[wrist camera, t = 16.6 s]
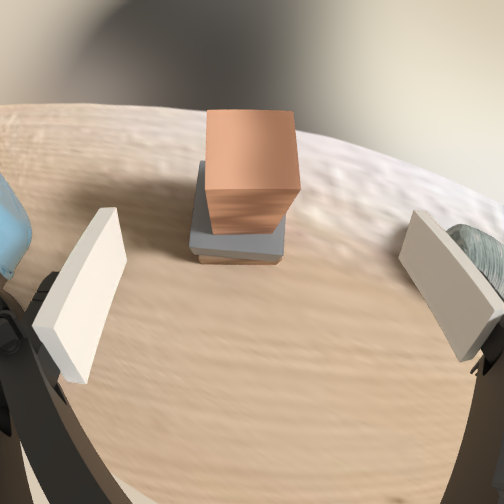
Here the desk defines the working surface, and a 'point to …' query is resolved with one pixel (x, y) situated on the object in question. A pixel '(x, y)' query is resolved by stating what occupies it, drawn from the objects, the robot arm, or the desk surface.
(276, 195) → the tall block
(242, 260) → the bottom slab
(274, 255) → the top slab
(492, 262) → the spool
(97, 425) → the desk surface
